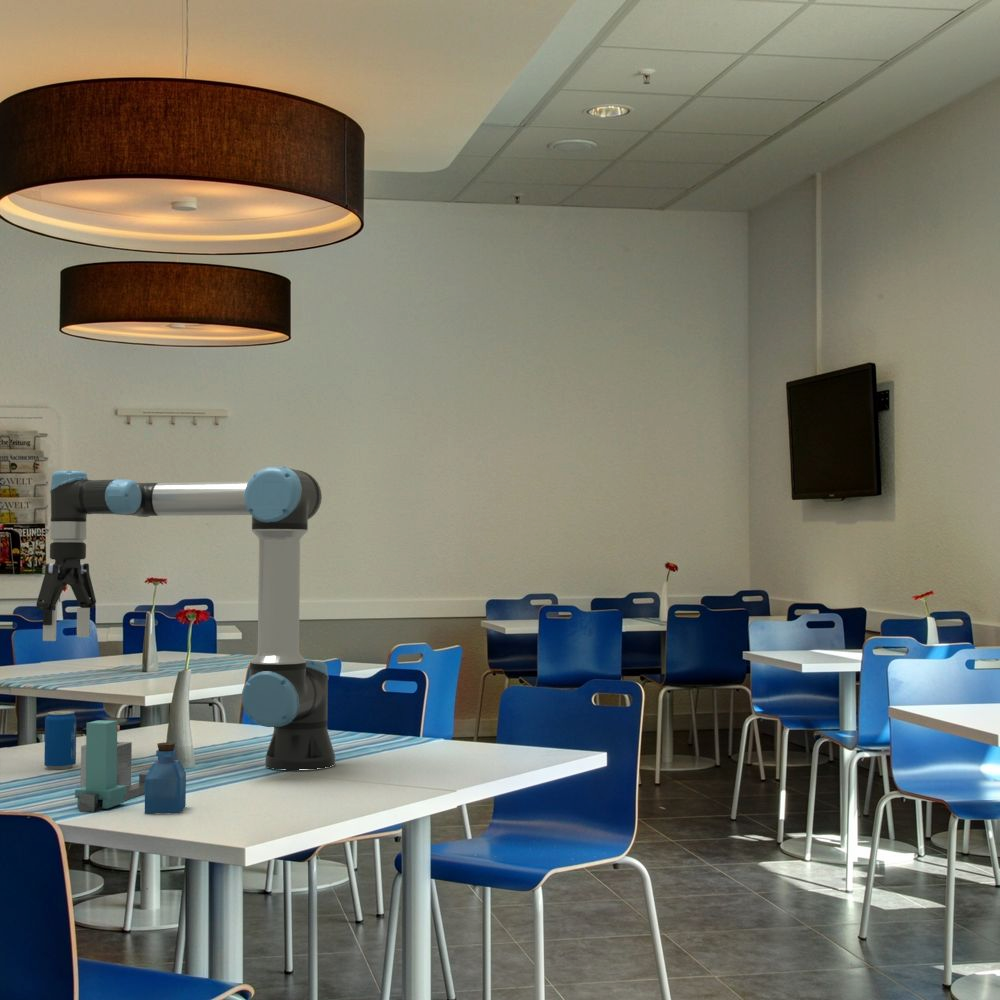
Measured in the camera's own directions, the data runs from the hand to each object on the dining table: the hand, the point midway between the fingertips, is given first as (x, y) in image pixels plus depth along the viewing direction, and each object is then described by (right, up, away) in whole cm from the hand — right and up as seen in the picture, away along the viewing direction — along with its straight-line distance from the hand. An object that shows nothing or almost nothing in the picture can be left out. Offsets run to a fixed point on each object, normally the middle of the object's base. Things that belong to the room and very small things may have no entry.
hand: (66, 639), depth 284 cm
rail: (+23, -26, -38) cm, 51 cm away
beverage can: (-1, -28, -1) cm, 28 cm away
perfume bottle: (+34, -26, -48) cm, 65 cm away
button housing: (+17, -27, -28) cm, 42 cm away
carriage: (+21, -26, -45) cm, 56 cm away
